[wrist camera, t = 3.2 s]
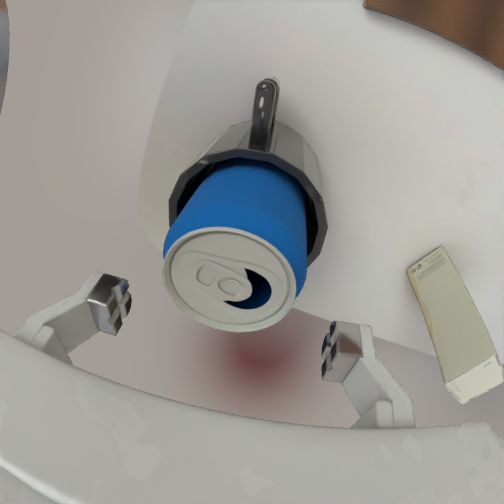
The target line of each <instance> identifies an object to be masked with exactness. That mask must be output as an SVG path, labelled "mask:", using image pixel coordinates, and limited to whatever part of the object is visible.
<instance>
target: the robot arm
mask: <svg viewBox="0 0 504 504" xmlns="http://www.w3.org/2000/svg"><path fill="white" fill-rule="evenodd" d="M128 287H129V284H128V281H127V280H126V279H123V278H119V277H116V276H112V275H109V274H104V273H101V272H98V271H95V272H93V273H92V274H91V275H90V277H89V278H88V279H87V280H86V282H85V283H84V284H83V286H82V287H81V288H80V290H79V291H78V292H77V294H76V295H75V296H70V297H68V298H66V299H64V300H62V301H60V302H58V303H56V304H54V305H52V306H50V307H48V308H46V309H44V310H42V311H40V312H38V313H36V314H34V315H32V316H30V317H29V318H28V320H27V321H26V322H25V324H24V325H23V326H22V328H21V329H20V331H19V332H18V333H17V335H16V336H15V337H14V336H12V335H10V334H8V333H7V332H5V331H3V330H1V329H0V504H504V442H503V440H502V439H501V438H500V436H499V435H498V434H497V433H496V432H495V431H494V429H493V428H492V427H491V426H490V425H489V424H488V423H486V422H483V421H482V422H473V423H465V424H457V425H448V426H437V427H423V428H416V424H415V416H414V408H413V402H412V399H411V398H410V397H409V396H408V395H407V393H406V392H405V391H404V389H403V388H402V387H401V386H400V384H399V383H398V382H397V381H396V379H395V378H394V377H393V376H392V375H391V373H390V372H389V371H388V369H387V368H386V367H385V366H384V364H383V363H382V362H381V361H380V360H378V359H376V354H375V347H374V340H373V334H372V328H371V326H369V325H362V324H355V323H347V322H340V321H333V322H332V323H331V326H330V333H328V334H326V336H325V339H324V342H323V346H322V358H323V359H324V363H323V365H322V380H324V381H331V382H339V383H342V385H343V387H344V389H345V391H346V392H347V394H348V396H349V398H350V399H351V401H352V403H353V405H354V406H355V408H356V410H357V412H358V414H359V415H360V417H361V418H360V419H359V420H358V421H357V422H356V423H355V424H354V425H353V426H352V427H351V428H338V427H323V426H311V425H301V424H292V423H284V422H277V421H270V420H263V419H257V418H251V417H244V416H240V415H235V414H229V413H224V412H220V411H215V410H211V409H206V408H202V407H198V406H194V405H189V404H185V403H182V402H178V401H174V400H171V399H167V398H163V397H160V396H156V395H153V394H150V393H147V392H144V391H141V390H137V389H134V388H131V387H128V386H126V385H122V384H120V383H117V382H114V381H111V380H109V379H106V378H103V377H101V376H98V375H96V374H93V373H90V372H88V371H85V370H83V369H81V368H78V367H76V366H73V364H72V361H71V360H70V358H69V356H68V355H67V354H68V353H69V352H71V351H72V350H74V349H75V348H76V347H78V346H79V345H81V344H82V343H83V342H85V341H86V340H88V339H89V338H90V337H92V336H93V335H95V334H96V333H98V331H101V332H104V333H108V334H111V335H115V336H116V335H117V333H118V331H119V329H120V327H121V326H122V320H121V319H122V318H124V317H126V316H127V315H128V313H129V311H130V308H131V301H132V299H131V294H130V293H129V292H128V291H127V289H128Z"/></svg>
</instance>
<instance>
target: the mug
mask: <svg viewBox="0 0 504 504" xmlns="http://www.w3.org/2000/svg"><path fill="white" fill-rule="evenodd" d="M279 91H280V81H279V79H278V78H276V77H268V78H266V79H264V80H262V81H261V82H259V83H258V84H257V86H256V90H255V98H254V106H253V113H252V120H250V121H244V122H241V123H238V124H235V125H232V126H231V127H229V128H228V129H227V130H225V131H224V132H223V133H221V134H220V135H219V136H218V137H216V138H215V139H214V140H213V141H212V142H211V143H210V144H209V145H208V146H207V147H206V148H205V149H204V150H203V151H202V152H201V153H200V154H199V155H198V156H197V158H196V159H195V160H194V161H193V162H192V163H191V164H190V165H189V166H188V167H187V168H186V169H185V170H184V172H183V173H182V174H181V175H180V176H179V179H178V181H177V183H176V185H175V187H174V189H173V192H172V194H171V196H170V198H169V227H170V228H171V226H172V225H173V223H174V222H175V220H176V219H177V217H178V216H179V214H180V213H181V211H182V210H183V208H184V207H185V206H186V204H187V203H188V201H189V200H190V198H191V197H192V195H193V194H194V193H195V191H196V190H197V188H198V187H199V186H200V184H201V183H202V181H203V180H204V179H205V177H206V176H207V174H208V173H209V172H210V170H211V169H212V167H213V166H214V165H215V163H216V162H220V161H224V160H228V159H232V158H237V157H241V158H247V159H254V160H260V161H266V162H270V163H272V164H274V165H275V166H277V167H279V168H280V169H282V170H284V171H285V172H287V173H289V174H290V175H292V176H293V177H295V178H297V180H298V181H299V182H300V184H301V185H302V186H303V188H304V189H305V205H306V241H307V268H308V267H309V266H310V264H311V263H312V262H313V261H314V260H315V259H316V258H317V257H318V256H319V254H320V252H321V249H322V246H323V243H324V239H325V236H326V233H327V229H328V224H327V217H326V211H325V204H324V198H323V192H322V186H321V180H320V174H319V169H318V164H317V159H316V156H315V154H314V152H313V151H312V149H311V148H310V146H309V144H308V143H307V142H306V141H305V140H304V138H303V137H302V136H301V135H299V134H298V133H297V132H295V131H294V130H292V129H291V128H289V127H287V126H285V125H283V124H280V123H277V122H275V117H276V111H277V104H278V98H279Z"/></svg>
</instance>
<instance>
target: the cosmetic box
mask: <svg viewBox="0 0 504 504" xmlns="http://www.w3.org/2000/svg"><path fill="white" fill-rule="evenodd" d="M406 272H407V275H408V277H409V280H410V282H411V284H412V287H413V289H414V292H415V294H416V297H417V300H418V302H419V305H420V307H421V310H422V313H423V316H424V318H425V321H426V324H427V327H428V330H429V333H430V336H431V339H432V342H433V345H434V348H435V352H436V355H437V358H438V362H439V365H440V369H441V372H442V376H443V381H444V385H445V386H446V388H447V389H448V390H449V391H450V392H451V394H452V395H453V396H454V397H455V398H456V399H457V400H458V401H459V402H461V403H462V404H464V403H466V402H468V401H470V400H472V399H474V398H476V397H477V396H479V395H481V394H483V393H485V392H486V391H488V390H490V389H492V388H493V387H495V386H497V385H499V384H500V383H502V382H503V381H504V371H503V368H502V365H501V362H500V360H499V357H498V355H497V352H496V350H495V347H494V345H493V342H492V340H491V338H490V335H489V333H488V331H487V329H486V326H485V324H484V322H483V320H482V318H481V316H480V314H479V312H478V310H477V307H476V305H475V303H474V301H473V299H472V298H471V296H470V294H469V292H468V290H467V288H466V286H465V284H464V282H463V281H462V279H461V277H460V275H459V273H458V272H457V270H456V268H455V266H454V265H453V263H452V261H451V260H450V258H449V256H448V254H447V253H446V251H445V249H444V248H443V247H442V246H440V247H439V248H438V249H436V250H435V251H433V252H432V253H430V254H429V255H427V256H426V257H425V258H423V259H422V260H420V261H419V262H417V263H416V264H414V265H413V266H412V267H410V268H409V269H407V271H406Z"/></svg>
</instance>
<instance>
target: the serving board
mask: <svg viewBox="0 0 504 504" xmlns="http://www.w3.org/2000/svg"><path fill="white" fill-rule="evenodd" d="M364 7H365V8H368V9H371V10H375V11H378V12H381V13H384V14H387V15H390V16H393V17H396V18H399V19H401V20H404V21H407V22H409V23H412V24H414V25H417V26H419V27H422V28H424V29H427V30H429V31H431V32H433V33H436V34H438V35H440V36H442V37H444V38H447V39H449V40H451V41H453V42H455V43H457V44H459V45H461V46H463V47H464V48H466V49H468V50H470V51H472V52H474V53H476V54H477V55H479V56H481V57H483V58H484V59H486V60H488V61H489V62H491V63H493V64H494V65H496V66H497V67H499V68H501V69H502V70H504V0H364Z"/></svg>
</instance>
